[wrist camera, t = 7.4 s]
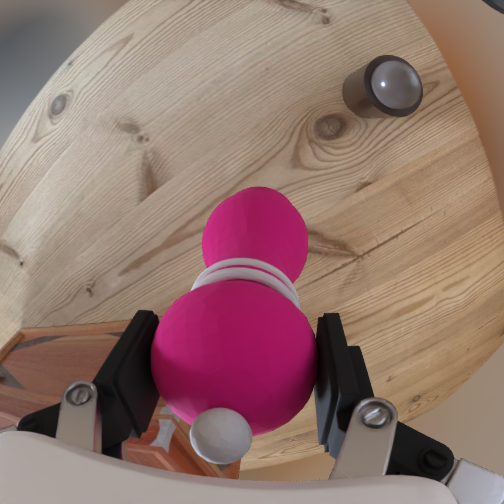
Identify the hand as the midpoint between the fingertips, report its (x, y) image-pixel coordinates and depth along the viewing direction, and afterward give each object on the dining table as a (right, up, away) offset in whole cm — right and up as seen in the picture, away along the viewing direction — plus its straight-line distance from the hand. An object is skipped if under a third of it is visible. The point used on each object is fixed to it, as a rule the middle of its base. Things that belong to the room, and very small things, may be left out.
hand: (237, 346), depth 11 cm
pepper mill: (+1, +6, +14) cm, 15 cm away
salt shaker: (+12, +20, +15) cm, 27 cm away
